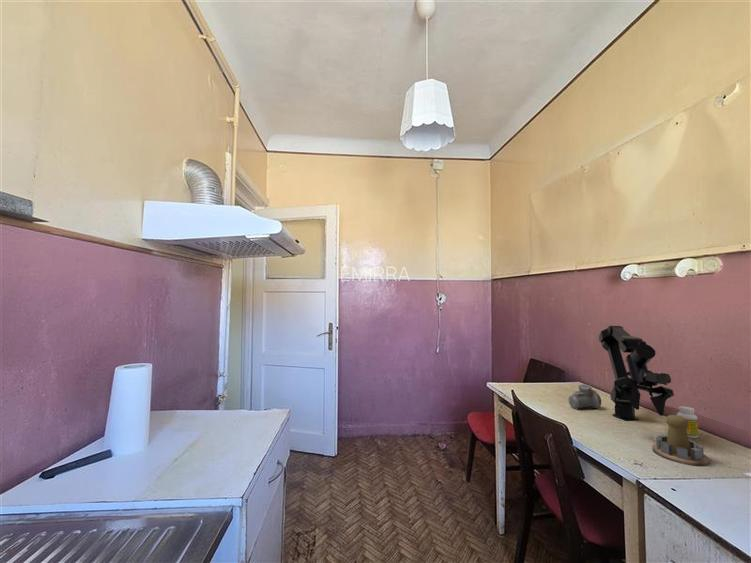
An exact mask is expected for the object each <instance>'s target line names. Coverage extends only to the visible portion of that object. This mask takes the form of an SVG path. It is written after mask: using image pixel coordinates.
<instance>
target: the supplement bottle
mask: <svg viewBox="0 0 751 563" xmlns="http://www.w3.org/2000/svg"><path fill="white" fill-rule="evenodd" d="M678 406H679V405H678ZM678 409H679V412H677V413H676V415H677V416H681V417H684V418H686V419H687V421H688V427H687V428H686V430H687V434H688V438H692V439H697V438H699V423H698V422H699V419H698V415H696V414H695V409H694V407H690V406H684V405H681V406H679V407H678Z"/></svg>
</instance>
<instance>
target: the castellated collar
mask: <svg viewBox="0 0 751 563" xmlns="http://www.w3.org/2000/svg"><path fill="white" fill-rule="evenodd" d="M667 437H668V435H665V434H661V435H660V434H659V435H657V436H655V444H656V447H657V449H659V450H661V452H663V453H665V454H667V455H672V445H671V444H668V443H667ZM689 443H690V448H691V459H693V460H695V461H697V460H702V458H704V455H705V454H704V447H703V445H701V444H698V442H696V441H693V440H691V439H689ZM676 456H677V458H681V459H686V460H688V450H687V448H683V447H678V446H676Z"/></svg>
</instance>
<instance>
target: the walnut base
mask: <svg viewBox="0 0 751 563" xmlns="http://www.w3.org/2000/svg"><path fill="white" fill-rule="evenodd" d="M651 449H652V452H653V453H655V455H657V456H659V457H661V458H663V459H666V460H669V461H670V462H671V461H672V462H675V463H679V464H682V463H683V465H687V464H688V465H689V466H695V467H696V466H697V467H698V466H699V467H701V466H703V467H704V466H707V465H709V463H710V462H709V457H708V456H707V455H706V454H704V458H702V460H697V461H695V460H693V459H691V456H688V460H686V459H681V458H677V456H676V454H673V453H672V455H667V454H665V453H663V452H661V450H659V449H657V447H656V443H653V444H652V446H651Z"/></svg>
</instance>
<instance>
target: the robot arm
mask: <svg viewBox="0 0 751 563" xmlns="http://www.w3.org/2000/svg"><path fill="white" fill-rule="evenodd" d="M598 341H599V343H601V346H602V348H603V349H604V350H605V351H607V354H608V356H609V357H608V358H609V360H610V364H611V368H612V371H613V375H614V381H613V386H612V390H611V392H610V400H611V402H613V403H614V413H612V414H611V416H613V417H616V418H619V419H621V420H623V421H636V420H637V421H638V420H639V417H636V410H637V411H638V410H640V402H641V401H640V400H641V395H642V394H641V393H640V391H643V392H648V394H649V396H650V398H649V399H650V400H651V401H650V402H652V404H653V406H654V408H655V410H656V413H658V415H659V416H661V417H663V416H664V414H665V405H666V403H667V400H668V399H670V398H672V397H674V396H675V393H674V391H673V389H672V388H670V387H666V386H668V384H671V383H672V378H671V376H670V374H669V373H665V372H664V373H663V372H661V373H658V372H653V371H652V370H649V367H648V365H647V364H649V363H650V362H651V361H652V360H653V359H654V357H655V356H656V354H657V353H656V350H655V349H654V348H653V347H652V346H651V345H649V344H647V342H646V341H643V339H642V338H640V337H638V336H634V335H631V334H630V333H629V332H627V331H626V330H625V329H624V327H623V326H621V325H608V326H607V328H605V329H603V330H601V331H600V333H599V335H598ZM622 353H627V354H628V353H629V354H628V355H626V357H625V361H624V358H623V354H622ZM625 362H626V363H627V367H628V371H627V369H626V365H625ZM658 384H659V385H660V386H658ZM663 385H664V386H663Z"/></svg>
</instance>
